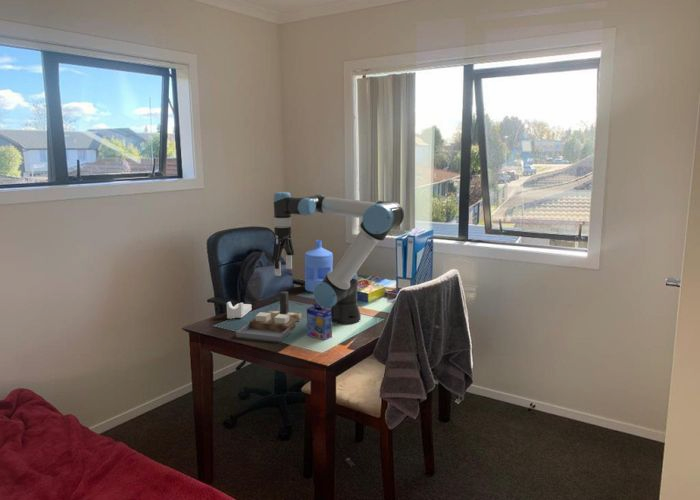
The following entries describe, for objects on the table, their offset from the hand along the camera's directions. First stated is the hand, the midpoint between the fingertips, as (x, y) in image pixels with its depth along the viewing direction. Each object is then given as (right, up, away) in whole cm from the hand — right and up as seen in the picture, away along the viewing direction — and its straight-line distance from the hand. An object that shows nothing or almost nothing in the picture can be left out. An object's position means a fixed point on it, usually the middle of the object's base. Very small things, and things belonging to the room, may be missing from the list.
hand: (283, 272), depth 247 cm
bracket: (-22, -21, +10) cm, 32 cm away
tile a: (+1, -21, -10) cm, 24 cm away
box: (-6, -26, -18) cm, 32 cm away
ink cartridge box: (+17, -27, -17) cm, 37 cm away
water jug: (+13, -12, +55) cm, 58 cm away
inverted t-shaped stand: (0, -22, +5) cm, 23 cm away
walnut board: (-4, -25, -8) cm, 26 cm away
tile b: (-8, -21, -8) cm, 24 cm away
